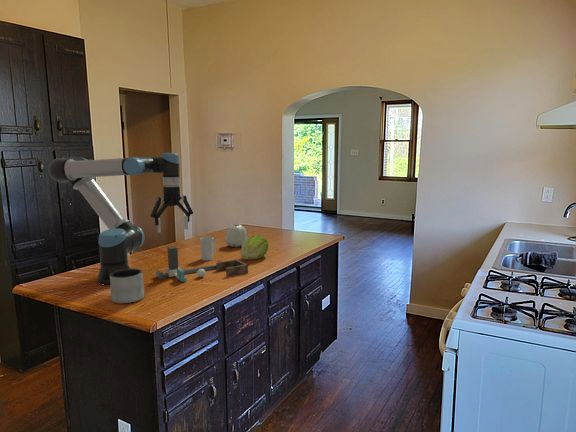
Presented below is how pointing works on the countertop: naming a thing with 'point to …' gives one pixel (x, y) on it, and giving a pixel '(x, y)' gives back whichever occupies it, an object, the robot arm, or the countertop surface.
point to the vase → (236, 236)
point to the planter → (127, 285)
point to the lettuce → (254, 247)
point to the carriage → (174, 265)
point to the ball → (201, 272)
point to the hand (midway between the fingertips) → (172, 230)
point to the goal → (232, 267)
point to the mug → (207, 248)
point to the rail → (185, 271)
